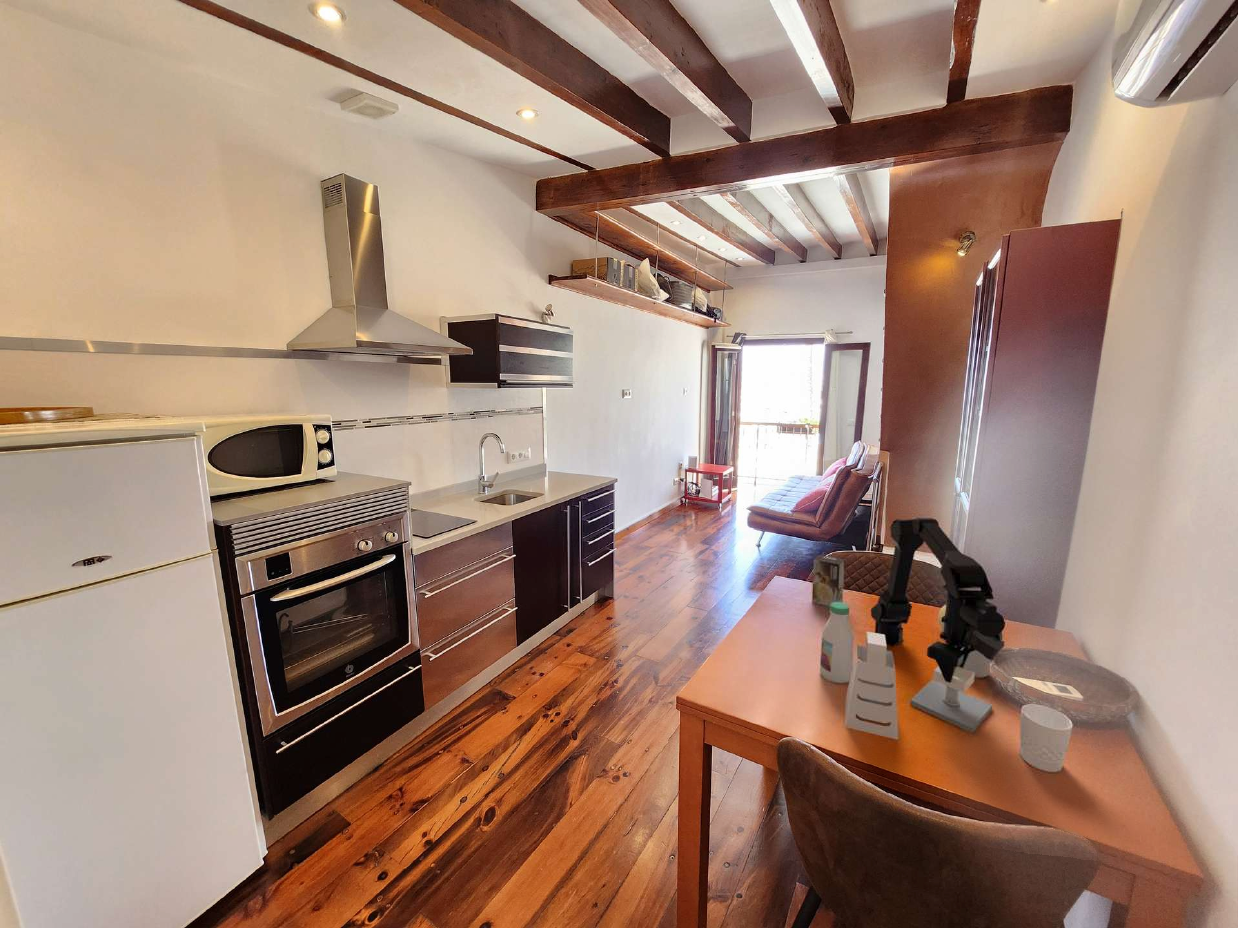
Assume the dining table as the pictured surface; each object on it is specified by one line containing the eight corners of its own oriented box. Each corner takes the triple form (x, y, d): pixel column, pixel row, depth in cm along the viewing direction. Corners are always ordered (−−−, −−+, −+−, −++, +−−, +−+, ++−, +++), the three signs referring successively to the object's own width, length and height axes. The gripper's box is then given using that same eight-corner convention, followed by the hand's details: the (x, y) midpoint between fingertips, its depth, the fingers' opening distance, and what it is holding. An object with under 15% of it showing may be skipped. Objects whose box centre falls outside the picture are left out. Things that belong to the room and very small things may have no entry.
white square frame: (932, 679, 119) (933, 670, 119) (943, 670, 123) (944, 660, 123) (963, 692, 114) (964, 682, 114) (973, 682, 118) (974, 672, 118)
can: (995, 680, 130) (1000, 638, 128) (963, 677, 131) (967, 635, 129) (980, 665, 137) (985, 624, 135) (950, 662, 139) (954, 621, 137)
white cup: (1006, 747, 106) (1011, 705, 105) (1040, 745, 107) (1046, 702, 105) (1040, 776, 99) (1046, 730, 97) (1076, 773, 99) (1083, 728, 98)
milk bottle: (851, 671, 135) (856, 601, 132) (851, 687, 128) (856, 613, 125) (820, 665, 138) (824, 596, 135) (818, 680, 131) (822, 608, 128)
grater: (894, 710, 119) (900, 632, 115) (898, 739, 109) (905, 654, 106) (845, 700, 123) (850, 624, 120) (845, 726, 113) (851, 645, 110)
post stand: (909, 704, 121) (911, 684, 120) (931, 683, 129) (933, 665, 128) (972, 733, 111) (974, 711, 110) (992, 709, 119) (994, 689, 118)
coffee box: (843, 602, 176) (846, 559, 174) (837, 609, 171) (840, 564, 169) (817, 596, 182) (819, 553, 180) (810, 602, 177) (813, 558, 175)
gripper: (987, 641, 104) (979, 709, 107) (1015, 615, 115) (1007, 677, 118) (928, 622, 113) (922, 685, 115) (959, 599, 124) (953, 657, 127)
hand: (953, 676), depth 119 cm, fingers closed on white square frame, 6 cm apart
